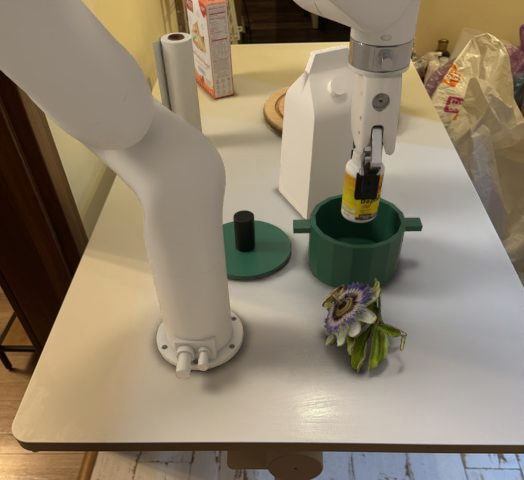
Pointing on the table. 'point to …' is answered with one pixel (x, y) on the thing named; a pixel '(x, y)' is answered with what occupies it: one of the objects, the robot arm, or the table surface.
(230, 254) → the lid
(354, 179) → the supplement bottle
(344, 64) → the milk
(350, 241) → the pot
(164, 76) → the paper towel roll
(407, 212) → the table surface
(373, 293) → the passion flower
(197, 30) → the cracker box
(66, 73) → the robot arm
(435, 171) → the table surface
